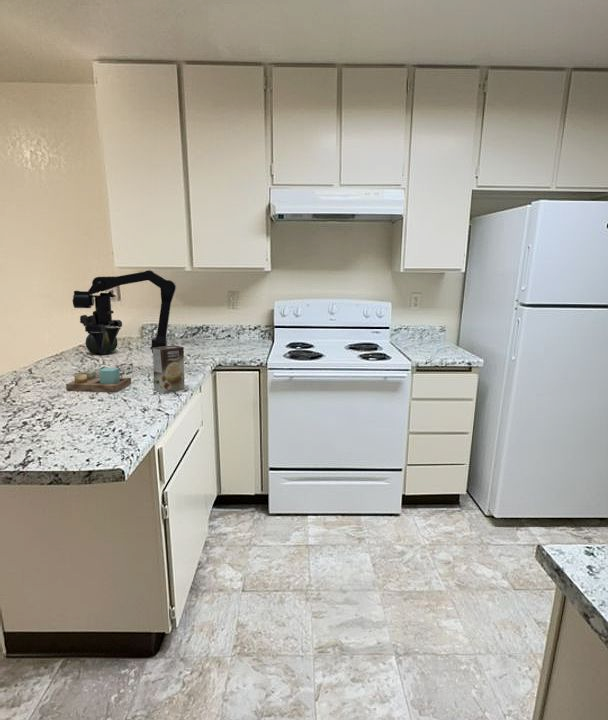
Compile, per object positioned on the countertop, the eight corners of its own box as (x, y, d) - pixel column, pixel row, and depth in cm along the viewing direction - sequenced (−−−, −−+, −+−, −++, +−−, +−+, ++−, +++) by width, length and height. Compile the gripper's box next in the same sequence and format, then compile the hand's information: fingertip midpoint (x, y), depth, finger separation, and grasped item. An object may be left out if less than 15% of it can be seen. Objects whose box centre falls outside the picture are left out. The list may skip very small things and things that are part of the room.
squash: (89, 347, 198) (107, 322, 204) (75, 344, 207) (92, 321, 213) (111, 362, 208) (128, 339, 214) (97, 359, 217) (113, 337, 223)
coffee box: (163, 394, 145) (161, 349, 141) (153, 390, 149) (151, 347, 145) (185, 389, 152) (184, 346, 148) (175, 385, 156) (174, 344, 152)
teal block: (120, 383, 153) (119, 367, 152) (113, 387, 148) (112, 371, 147) (107, 382, 153) (106, 367, 152) (100, 386, 148) (99, 370, 147)
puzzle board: (131, 383, 156) (130, 371, 155) (116, 392, 145) (115, 379, 144) (85, 382, 157) (83, 369, 156) (66, 390, 145) (65, 377, 144)
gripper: (95, 306, 172) (98, 342, 175) (69, 309, 154) (73, 350, 157) (121, 306, 172) (123, 343, 175) (98, 310, 153) (101, 351, 157)
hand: (105, 346), depth 166 cm, fingers open, 9 cm apart
